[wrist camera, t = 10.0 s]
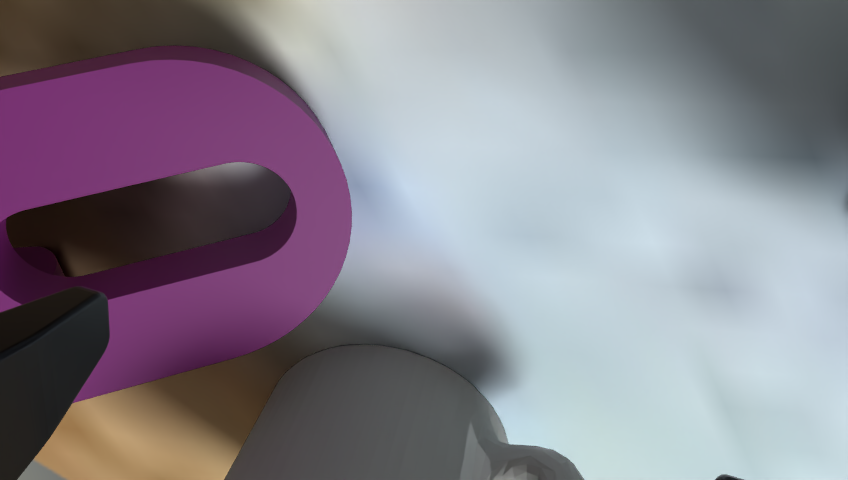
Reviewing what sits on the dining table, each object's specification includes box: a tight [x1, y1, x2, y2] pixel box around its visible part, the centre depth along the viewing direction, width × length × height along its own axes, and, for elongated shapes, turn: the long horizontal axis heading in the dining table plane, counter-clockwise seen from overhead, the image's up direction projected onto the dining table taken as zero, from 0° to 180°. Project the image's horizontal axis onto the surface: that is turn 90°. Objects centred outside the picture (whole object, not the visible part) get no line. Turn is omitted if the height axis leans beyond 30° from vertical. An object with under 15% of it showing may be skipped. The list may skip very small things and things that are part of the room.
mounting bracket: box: [0, 46, 352, 403], centre depth 22 cm, size 9×8×18 cm
